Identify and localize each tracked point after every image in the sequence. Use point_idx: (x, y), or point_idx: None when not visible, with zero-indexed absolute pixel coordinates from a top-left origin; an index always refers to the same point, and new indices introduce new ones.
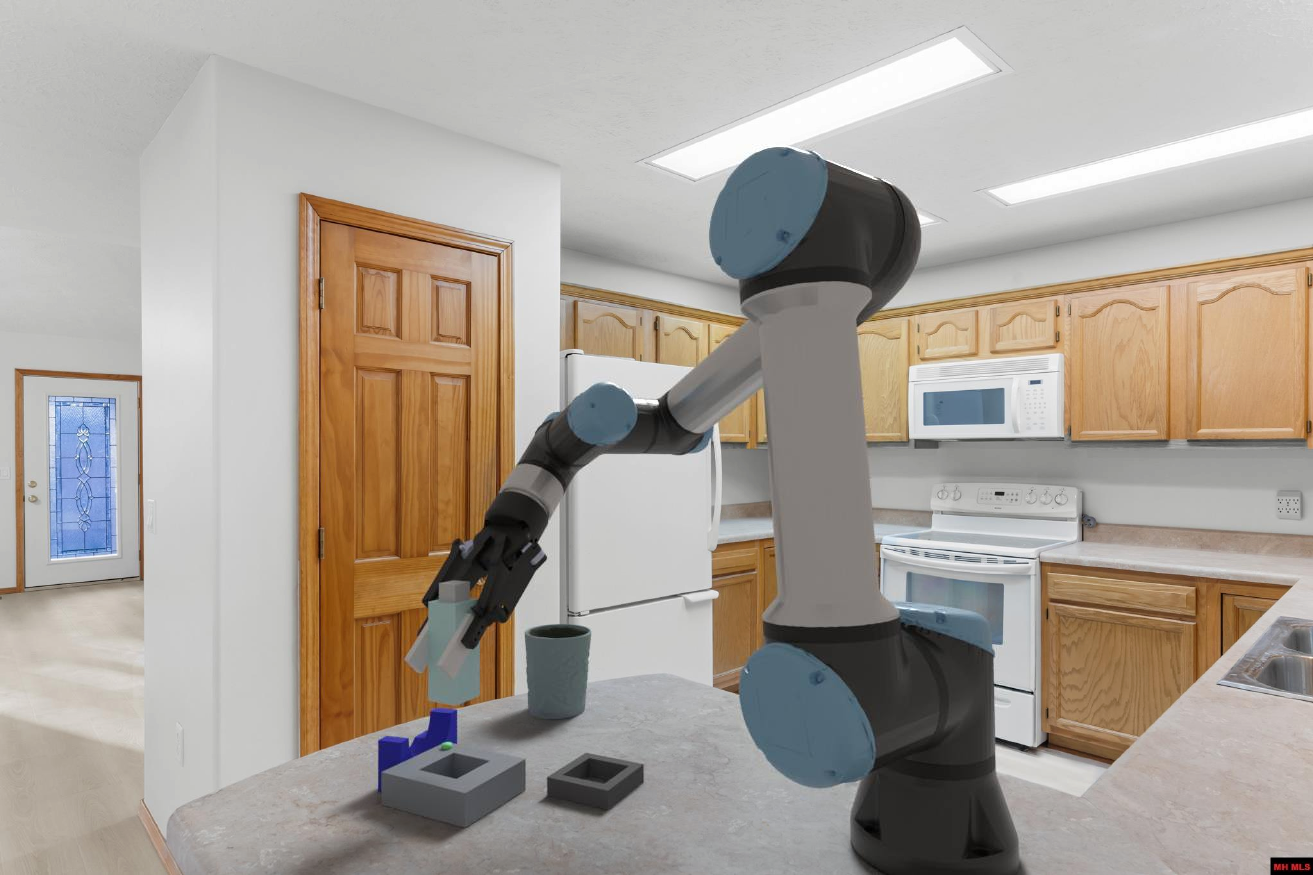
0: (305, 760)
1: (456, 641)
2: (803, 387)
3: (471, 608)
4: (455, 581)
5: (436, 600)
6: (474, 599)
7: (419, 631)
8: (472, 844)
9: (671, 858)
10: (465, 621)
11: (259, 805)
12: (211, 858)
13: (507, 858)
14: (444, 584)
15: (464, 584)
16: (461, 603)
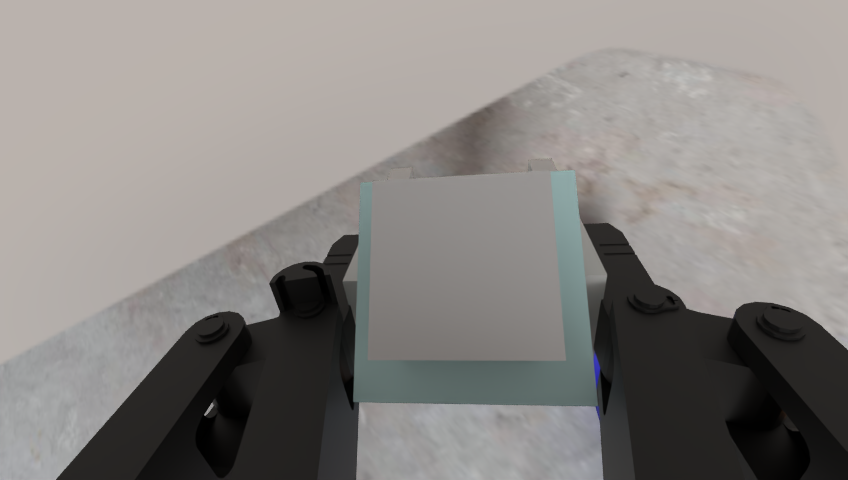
0: None
1: None
2: None
3: (321, 266)
4: (494, 309)
5: (563, 222)
6: (367, 362)
7: (612, 232)
8: (353, 225)
9: (124, 311)
10: None
11: (725, 155)
12: (615, 51)
13: (295, 220)
14: (486, 176)
15: (373, 290)
16: (360, 231)
